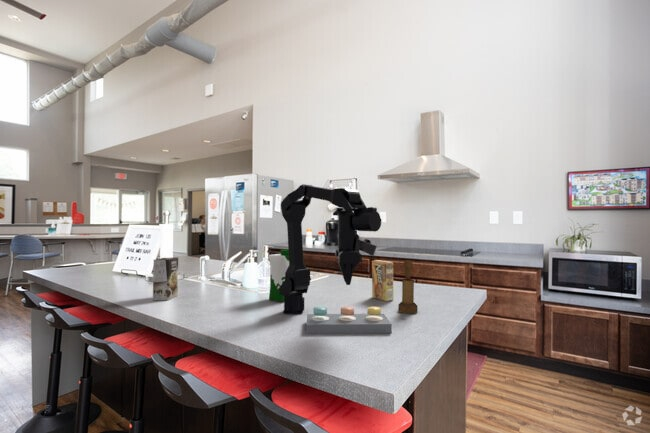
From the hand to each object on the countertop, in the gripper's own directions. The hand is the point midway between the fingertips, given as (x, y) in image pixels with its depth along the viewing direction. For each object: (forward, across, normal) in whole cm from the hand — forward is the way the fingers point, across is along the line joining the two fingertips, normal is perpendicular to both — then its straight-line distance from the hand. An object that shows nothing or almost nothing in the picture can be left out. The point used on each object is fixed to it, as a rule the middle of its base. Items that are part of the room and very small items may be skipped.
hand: (347, 283), depth 103 cm
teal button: (+9, 0, +8) cm, 12 cm away
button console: (+13, 0, 0) cm, 13 cm away
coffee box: (+13, +40, +70) cm, 82 cm away
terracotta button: (+9, 0, 0) cm, 9 cm away
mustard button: (+9, 0, -8) cm, 12 cm away
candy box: (+13, +38, -18) cm, 44 cm away
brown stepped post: (+13, +18, -23) cm, 32 cm away
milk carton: (+13, +37, +23) cm, 46 cm away
